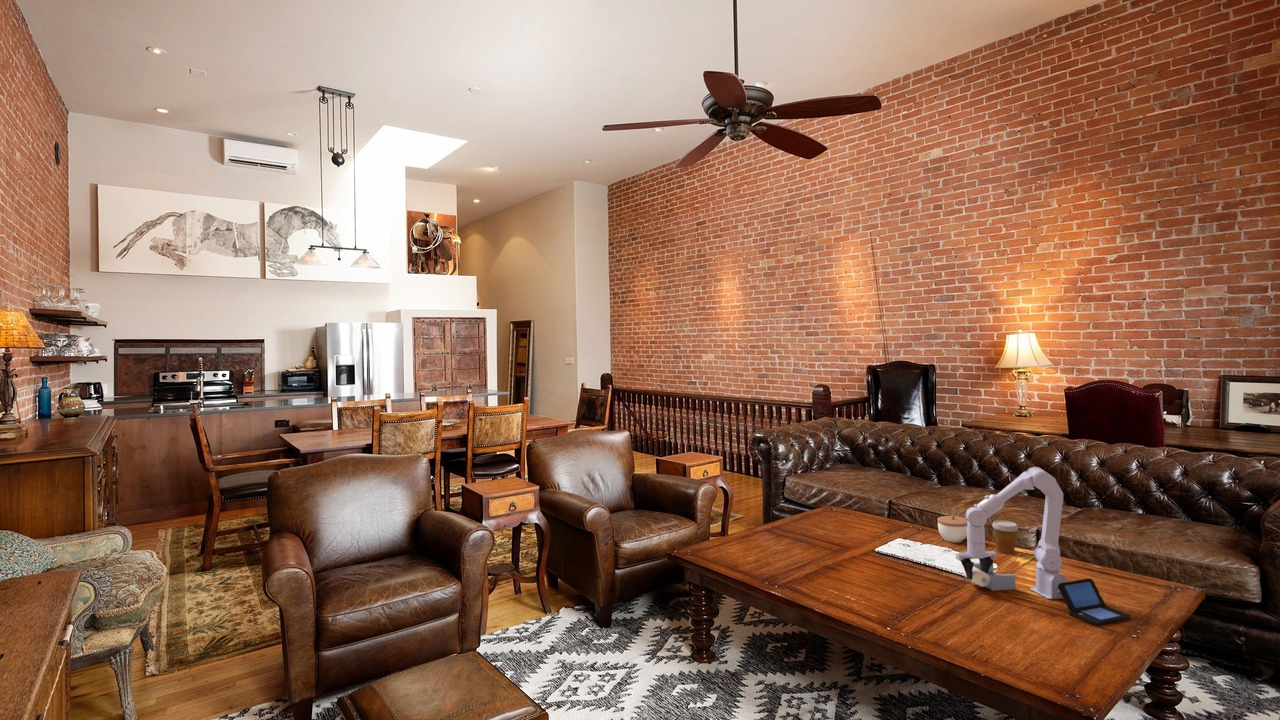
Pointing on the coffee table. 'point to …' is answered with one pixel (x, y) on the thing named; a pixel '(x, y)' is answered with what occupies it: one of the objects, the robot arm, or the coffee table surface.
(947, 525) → the lidded bowl
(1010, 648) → the coffee table surface
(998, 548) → the disposable coffee cup
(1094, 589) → the game console
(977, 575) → the roll
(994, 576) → the holder
